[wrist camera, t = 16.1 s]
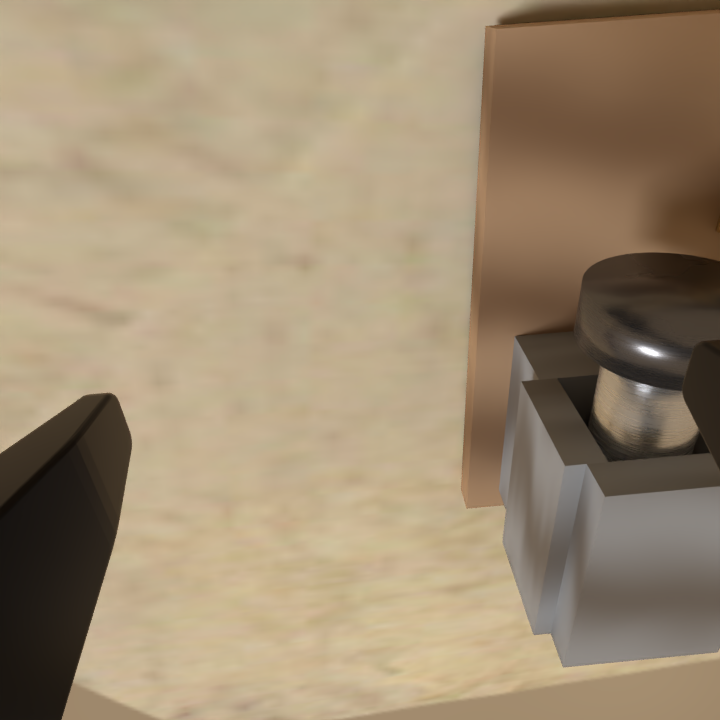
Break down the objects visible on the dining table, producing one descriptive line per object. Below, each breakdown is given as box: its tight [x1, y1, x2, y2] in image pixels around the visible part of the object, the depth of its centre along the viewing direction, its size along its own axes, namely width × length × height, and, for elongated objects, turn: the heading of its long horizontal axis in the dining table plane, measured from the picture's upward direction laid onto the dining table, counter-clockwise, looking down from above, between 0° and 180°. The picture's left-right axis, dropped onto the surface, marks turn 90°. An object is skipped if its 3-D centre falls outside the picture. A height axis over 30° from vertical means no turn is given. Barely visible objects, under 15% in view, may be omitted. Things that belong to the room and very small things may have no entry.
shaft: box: [574, 252, 720, 462], centre depth 19 cm, size 15×5×5 cm, turn 3°
